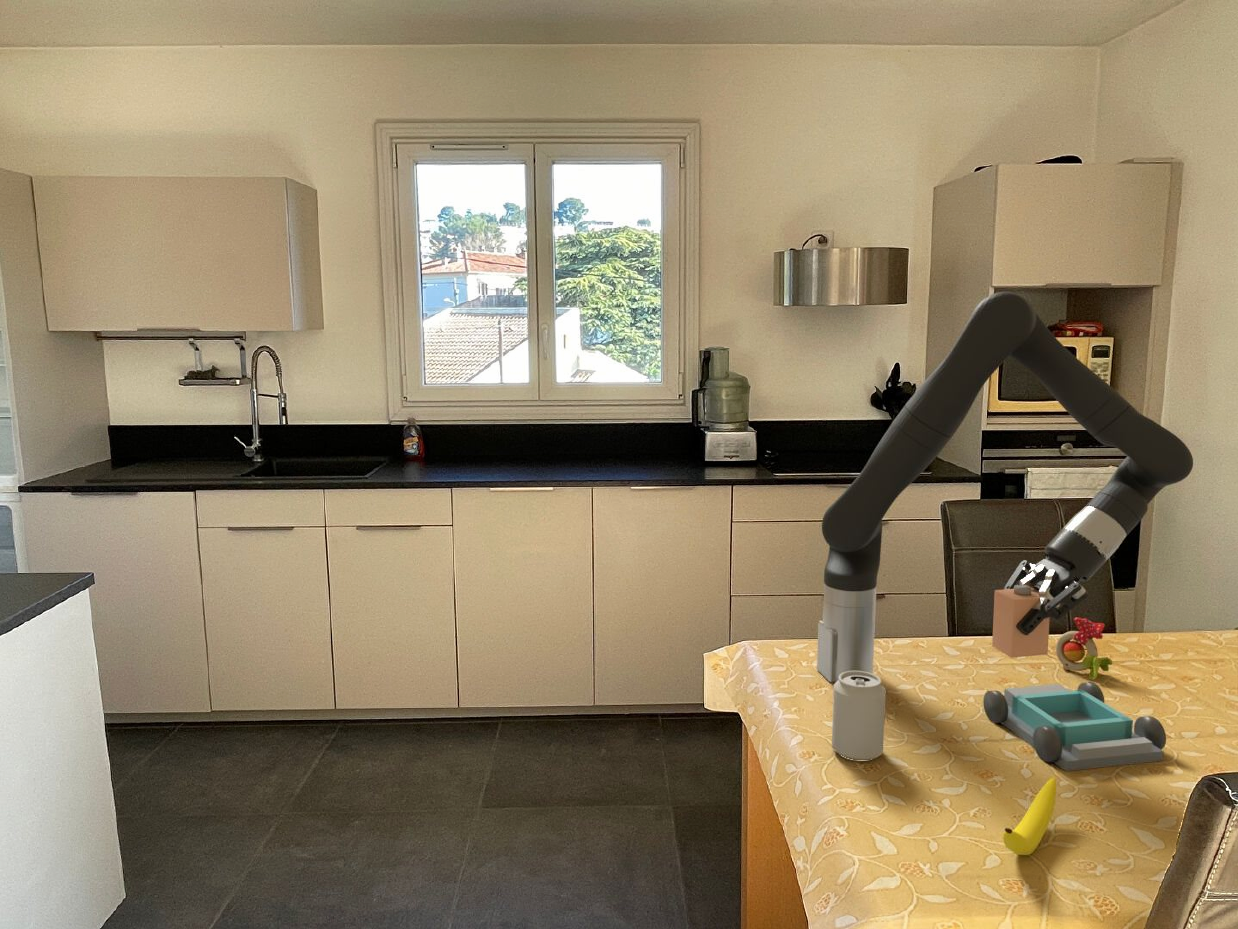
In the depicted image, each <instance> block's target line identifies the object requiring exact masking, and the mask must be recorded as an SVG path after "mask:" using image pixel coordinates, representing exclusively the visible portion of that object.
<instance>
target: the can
mask: <svg viewBox="0 0 1238 929" xmlns="http://www.w3.org/2000/svg"><path fill="white" fill-rule="evenodd" d="M838 678H839V680H838V681H837V682H834V684H833V700H832V726H831V729H832V730H831V746H832V749H833V750H834V751H835V752H836V753H837V754H838V753H839V754H840V755H842V756H844V757H846V758H849V759H853V760H871V759H874V758H875V759H876V758H878V757H879V756H880V755H882V753H883V752H884V739H885V737H884V736H885V735H884V734H885V719H886V718H885V715H886V714H885V713H886V711H885V710H886V695H887V694H886V692H887V691H886V688H885V687H884V686H883V684H882V682H883V681H882V679H881V678H880V677H879V675H877V674H874V673H873V674H872V673H869V672H864V671H847V672H843V673H841V674H840V675H839V676H838ZM839 754H838V755H839ZM840 755H839V756H840ZM842 756H841V757H842ZM875 759H874V760H875Z"/></svg>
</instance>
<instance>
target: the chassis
mask: <svg viewBox="0 0 1238 929" xmlns="http://www.w3.org/2000/svg"><path fill="white" fill-rule="evenodd" d="M1003 692H1004V694H1003V693H1002V692H1001V691H999V690H988V691H986V692H985V693H984V696H983V710H984V712H985V714H986V717H987V719H988V720H989V721H990V722H992V723H994V724H997V723H998V724H999V723H1000V724H1002V725H1003V726H1005V728H1007V729H1008V730H1010V731H1011V732H1013V734H1015V735H1016V736H1018V737H1019V738H1021V739H1022V740H1023V741H1024V742H1026V743H1027V744H1028V745H1030V746H1031V747H1032V748H1034V750H1035V753H1036V754H1037V756H1038V757H1039V759H1041V760H1042V761H1043V762H1046V763H1054V764H1055V765H1056V766H1058V767H1059V768H1060V769H1062V770H1063V771H1064V772H1068V771H1078V770H1080V771H1081V770H1088V769H1097V768H1106V767H1107V768H1108V767H1115V766H1116V767H1117V766H1124V765H1133V764H1134V765H1136V764H1143V763H1152V762H1162V761H1163V760H1164V750H1163V749H1164V748H1165V746H1166V742H1167V734H1166V730H1165V728H1164V726H1163V724H1162V723H1161V722H1160V721H1159V720H1158V719H1157V718H1156V717H1154V716H1152V715H1151V716H1150V715H1149V716H1148V715H1146V716H1140V717H1138V718H1136V720H1135V722H1134V720H1133V719H1131V718H1130V717H1129V716H1126V715H1125V714H1123V713H1122V712H1120V711H1118V710H1117V709H1115V708H1113V707H1112V706H1110V705H1108V704H1107V703H1105V696H1104V694H1103V691H1102V689H1101V687H1100V686H1099V684H1098V685H1097V683H1095V682H1093V681H1092V682H1091V681H1090V682H1081V683H1080V684H1079V685H1078V688H1077V689H1075V690H1074V689H1073V690H1070V689H1068V688H1066V687H1065V686H1063V685H1062V684H1061V683H1053V684H1052V683H1051V684H1042V685H1032V686H1031V685H1029V686H1020V687H1010V688H1009V687H1008V688H1004V691H1003ZM1133 724H1134V725H1133Z"/></svg>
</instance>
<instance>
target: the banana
mask: <svg viewBox="0 0 1238 929" xmlns="http://www.w3.org/2000/svg"><path fill="white" fill-rule="evenodd" d="M1056 796H1057V777H1055V776H1053V777H1051V779H1048V781H1047V782H1046V783H1045V784H1044V785H1043V786H1042V788H1041V789H1040V790H1039V791H1038V793H1037V795H1036V796H1035V798H1034V799H1033V801H1032V803H1031V805H1030V806H1029V808H1028V809H1027V811H1026V813H1025V814H1024V816H1023V817H1022V819H1021V820H1020V822H1019V823H1018V825H1017V826H1016V827H1015V828H1014V829H1011V828H1008V827H1005V828H1004V831H1003V833H1002V839H1003V842H1004V846H1005V847H1006V849H1008V850H1010V851H1011V852H1013V853H1014V854H1015V855H1017V856H1030V855H1031V854H1033V853H1034V852H1035V850H1036V849H1037V847H1038V846H1039V844H1040V842H1041V840H1042V839H1043V837H1044V835H1045V833H1046V830H1047V828H1048V827H1049V824H1050V822H1051V820H1052V817H1053V814H1054V812H1055V811H1054V810H1055V806H1056V798H1057V797H1056Z"/></svg>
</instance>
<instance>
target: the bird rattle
mask: <svg viewBox="0 0 1238 929" xmlns="http://www.w3.org/2000/svg"><path fill="white" fill-rule="evenodd" d="M1073 621H1074V624H1075V625H1076V628H1077V629H1078V630H1069V631H1067V632H1065V633H1063V634H1062V635H1060V636H1059V637H1058V639H1057V641H1056V644H1055V654H1056V656H1057V658H1058V660H1059V661H1060V663H1061V665H1062V669H1063V670H1064V671H1075V672H1080V671H1081V672H1082V671H1086V670H1089V679H1090V680H1091V681H1094V680H1095V679H1096V678H1097V677H1098V675H1099V668H1100V669H1101V670H1102V671H1103V672H1109V671H1110V670H1109V669H1110V667H1109V665H1110V666H1111V665H1113V659H1111V658H1109V657H1107V656H1103V657H1098V656H1099V655H1098V654H1099V653H1098V652H1099V651H1098V647H1097V645H1096V643H1095V641H1094V638H1095V639H1096V640H1102V639H1103V637H1104V636H1103V633H1102V632H1103V630H1104V628H1105V623H1102V622H1092V621H1091V620H1089V619H1088V618H1082V617H1074V618H1073ZM1081 660H1082V661H1081Z"/></svg>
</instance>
